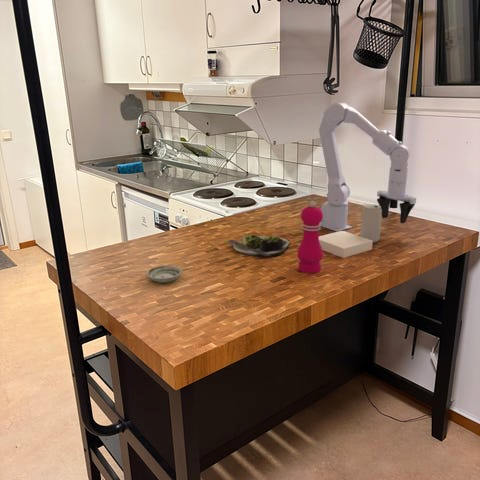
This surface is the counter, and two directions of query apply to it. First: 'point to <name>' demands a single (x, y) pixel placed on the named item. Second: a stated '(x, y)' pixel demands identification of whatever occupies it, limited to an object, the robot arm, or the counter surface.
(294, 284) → the counter surface
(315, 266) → the pepper mill
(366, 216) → the beverage can
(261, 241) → the salad plate
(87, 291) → the counter surface
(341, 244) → the block
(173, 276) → the saucer
